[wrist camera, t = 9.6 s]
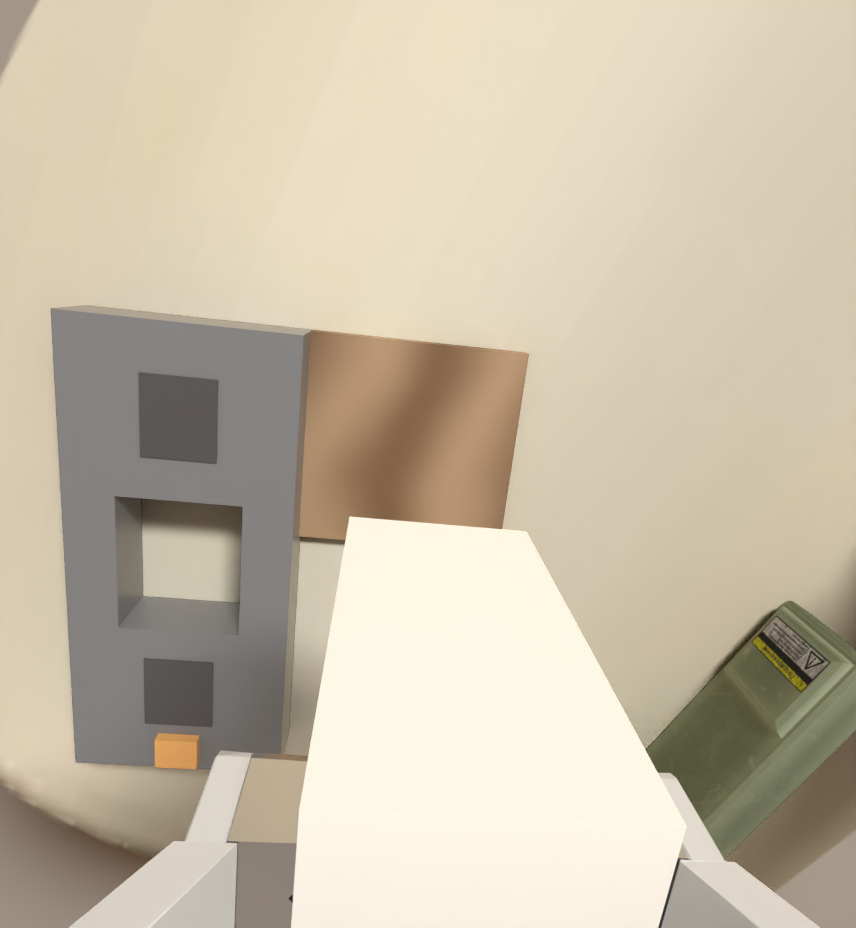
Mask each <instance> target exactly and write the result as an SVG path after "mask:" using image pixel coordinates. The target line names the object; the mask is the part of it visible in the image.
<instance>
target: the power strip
mask: <svg viewBox="0 0 856 928" xmlns="http://www.w3.org/2000/svg"><path fill="white" fill-rule="evenodd" d="M51 326H52V344H53V362H54V380H55V398H56V416H57V434H58V452H59V470H60V489H61V507H62V525H63V543H64V561H65V579H66V597H67V615H68V633H69V651H70V669H71V687H72V705H73V723H74V741H75V759H76V762H78V763H98V764H118V765H139V766H155V767H157V768H178V769H197V768H200V769H211V767H212V764H213V762H214V759H215V757H216V756H217V754H218V753H219V752H220V750H221V751H234V752H247V753H254V752H257V753H270V754H284V751H285V747H286V743H287V738H288V734H289V724H290V707H291V690H292V673H293V655H294V638H295V621H296V604H297V587H298V569H299V552H300V536H299V527H300V510H301V492H302V475H303V457H304V440H305V423H306V405H307V388H308V370H309V353H310V336H311V330H310V329H300V328H291V327H282V326H272V325H263V324H254V323H244V322H235V321H226V320H216V319H207V318H198V317H189V316H179V315H170V314H161V313H151V312H142V311H133V310H123V309H114V308H105V307H95V306H74V307H62V308H51ZM141 498H143V499H155V500H167V501H179V502H191V503H203V504H215V505H227V506H239V507H243V511H242V545H241V578H240V603H231V602H217V601H203V600H188V599H174V598H160V597H146V596H143V562H142V506H141Z"/></svg>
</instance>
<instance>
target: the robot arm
mask: <svg viewBox="0 0 856 928" xmlns="http://www.w3.org/2000/svg"><path fill="white" fill-rule="evenodd" d="M307 761H308V756H297V755H284V754H270V753H257V752H254V753H247V752H234V751H221V750H220V752H219V753H218V754H217V756H216V757H215V759H214V762H213V764H212V767H211V770H210V772H209V775H208V778H207V780H206V783H205V786H204V789H203V791H202V794H201V797H200V799H199V802H198V805H197V807H196V810H195V813H194V816H193V818H192V821H191V824H190V826H189V829H188V832H187V834H186V837H185V840H184V841H173V842H171V843H170V844H169V845H168V846H167V847H165V848H164V849H163V850H162V851H161V852H159V853H158V854H157V855H156V856H155V857H153V858H152V859H151V860H150V861H149V862H147V863H146V864H145V865H144V866H143V867H141V868H140V869H139V870H138V871H137V872H135V873H134V874H133V875H132V876H131V877H129V878H128V879H127V880H126V881H124V882H123V883H122V884H121V885H120V886H118V887H117V888H116V889H115V890H114V891H112V892H111V893H110V894H109V895H107V896H106V897H105V898H104V899H103V900H101V901H100V902H99V903H98V904H97V905H95V906H94V907H93V908H92V909H91V910H89V911H88V912H87V913H86V914H85V915H83V916H82V917H81V918H80V919H78V920H77V921H76V922H75V923H74V924H72V925H71V926H70V927H69V928H291V920H292V906H293V891H294V876H295V862H296V847H297V832H298V818H299V807H300V801H301V796H302V790H303V784H304V778H305V772H306V767H307ZM658 774H659V776H660V778H661V780H662V781H663V783H664V785H665V787H666V789H667V791H668V792H669V794H670V796H671V798H672V800H673V802H674V803H675V805H676V807H677V809H678V811H679V813H680V815H681V816H682V818H683V820H684V822H685V824H686V826H687V827H686V831H685V834H684V838H683V842H682V845H681V849H680V852H679V856H678V859H677V863H676V866H675V870H674V873H673V877H672V881H671V884H670V888H669V891H668V895H667V898H666V902H665V905H664V909H663V912H662V916H661V919H660V923H659V927H658V928H820V927H819V926H818V925H816V924H815V923H814V922H812V921H811V920H809V919H808V918H807V917H806V916H804V915H803V914H802V913H801V912H799V911H798V910H797V909H795V908H794V907H793V906H791V905H790V904H789V903H788V902H786V901H785V900H784V899H782V898H781V897H780V896H779V895H777V894H776V893H775V892H773V891H772V890H771V889H769V888H768V887H767V886H766V885H764V884H763V883H762V882H760V881H759V880H758V879H756V878H755V877H754V876H752V875H751V874H750V873H749V872H747V871H746V870H745V869H743V868H742V867H741V866H739V865H738V864H737V863H736V862H726V861H725V860H724V858H723V856H722V855H721V853H720V851H719V850H718V848H717V846H716V844H715V843H714V841H713V839H712V838H711V836H710V834H709V833H708V831H707V829H706V827H705V826H704V824H703V822H702V821H701V819H700V817H699V815H698V814H697V812H696V810H695V809H694V807H693V805H692V804H691V802H690V800H689V798H688V797H687V795H686V793H685V792H684V790H683V788H682V786H681V785H680V783H679V781H678V780H677V778H676V777H675V776H673V775H672V774H671V773H658Z"/></svg>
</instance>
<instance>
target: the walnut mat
mask: <svg viewBox="0 0 856 928" xmlns="http://www.w3.org/2000/svg"><path fill="white" fill-rule="evenodd" d="M528 356H529V354H528V353H524V352H514V351H505V350H496V349H487V348H477V347H468V346H459V345H449V344H440V343H431V342H421V341H412V340H403V339H393V338H384V337H375V336H365V335H356V334H347V333H338V332H328V331H319V330H311V336H310V353H309V370H308V388H307V405H306V423H305V440H304V457H303V475H302V492H301V510H300V527H299V536H300V537H313V538H325V539H338V540H346V534H347V528H348V523H349V517H361V518H373V519H385V520H397V521H409V522H421V523H433V524H445V525H457V526H469V527H481V528H493V529H502V525H503V519H504V512H505V506H506V499H507V493H508V486H509V480H510V473H511V467H512V460H513V454H514V447H515V441H516V434H517V428H518V421H519V415H520V408H521V402H522V395H523V389H524V382H525V376H526V369H527V363H528Z"/></svg>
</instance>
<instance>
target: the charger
mask: <svg viewBox="0 0 856 928" xmlns="http://www.w3.org/2000/svg"><path fill="white" fill-rule="evenodd" d="M686 827H687V826H686V824H685V822H684V820H683V818H682V816H681V815H680V813H679V811H678V809H677V807H676V805H675V803H674V802H673V800H672V798H671V796H670V794H669V792H668V791H667V789H666V787H665V785H664V783H663V781H662V780H661V778H660V776H659V774H658V772H657V770H656V769H655V767H654V765H653V763H652V761H651V759H650V758H649V756H648V754H647V752H646V750H645V748H644V747H643V745H642V743H641V741H640V739H639V737H638V736H637V734H636V732H635V730H634V728H633V726H632V724H631V723H630V721H629V719H628V717H627V715H626V713H625V712H624V710H623V708H622V706H621V704H620V702H619V701H618V699H617V697H616V695H615V693H614V691H613V690H612V688H611V686H610V684H609V682H608V680H607V679H606V677H605V675H604V673H603V671H602V669H601V668H600V666H599V664H598V662H597V660H596V658H595V657H594V655H593V653H592V651H591V649H590V647H589V645H588V644H587V642H586V640H585V638H584V636H583V634H582V633H581V631H580V629H579V627H578V625H577V623H576V622H575V620H574V618H573V616H572V614H571V612H570V611H569V609H568V607H567V605H566V603H565V601H564V600H563V598H562V596H561V594H560V592H559V590H558V589H557V587H556V585H555V583H554V581H553V579H552V578H551V576H550V574H549V572H548V570H547V568H546V566H545V565H544V563H543V561H542V559H541V557H540V555H539V554H538V552H537V550H536V548H535V546H534V544H533V543H532V541H531V539H530V537H529V535H528V533H527V532H526V531H517V530H505V529H493V528H481V527H469V526H457V525H445V524H433V523H421V522H409V521H397V520H385V519H373V518H361V517H349V523H348V528H347V534H346V540H345V546H344V552H343V557H342V563H341V569H340V575H339V581H338V587H337V592H336V598H335V604H334V610H333V616H332V621H331V627H330V633H329V639H328V645H327V650H326V656H325V662H324V668H323V674H322V679H321V685H320V691H319V697H318V703H317V708H316V714H315V720H314V726H313V732H312V737H311V743H310V749H309V755H308V761H307V767H306V772H305V778H304V784H303V790H302V796H301V801H300V807H299V818H298V832H297V847H296V862H295V876H294V891H293V906H292V920H291V928H658V927H659V923H660V919H661V916H662V912H663V909H664V905H665V902H666V898H667V895H668V891H669V888H670V884H671V881H672V877H673V873H674V870H675V866H676V863H677V859H678V856H679V852H680V849H681V845H682V842H683V838H684V834H685V831H686Z"/></svg>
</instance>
